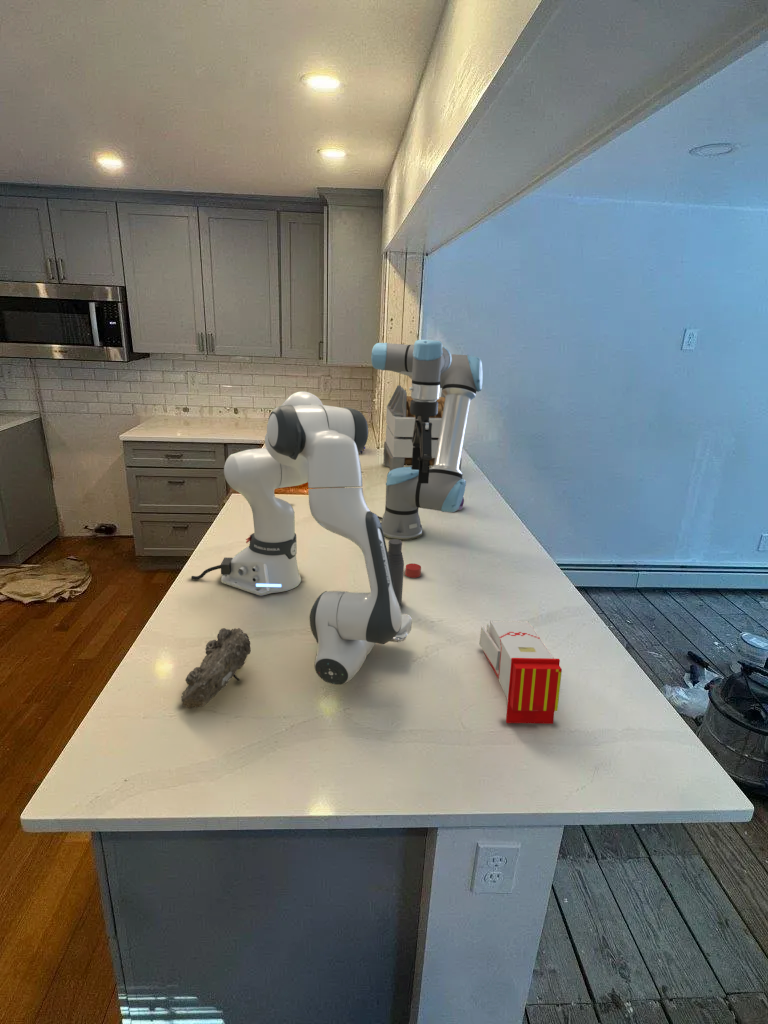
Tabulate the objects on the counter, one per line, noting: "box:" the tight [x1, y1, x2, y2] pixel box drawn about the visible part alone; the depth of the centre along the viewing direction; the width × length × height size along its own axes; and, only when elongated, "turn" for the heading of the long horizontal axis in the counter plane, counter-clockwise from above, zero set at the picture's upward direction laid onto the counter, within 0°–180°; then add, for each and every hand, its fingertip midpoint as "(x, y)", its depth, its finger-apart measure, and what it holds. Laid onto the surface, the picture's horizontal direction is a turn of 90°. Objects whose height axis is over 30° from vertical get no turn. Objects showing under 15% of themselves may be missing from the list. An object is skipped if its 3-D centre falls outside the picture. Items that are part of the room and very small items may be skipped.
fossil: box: [180, 627, 252, 709], centre depth 117 cm, size 22×10×15 cm
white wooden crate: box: [383, 384, 463, 472], centre depth 268 cm, size 34×33×41 cm
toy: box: [478, 620, 563, 725], centre depth 121 cm, size 12×13×30 cm
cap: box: [404, 563, 422, 579], centre depth 169 cm, size 5×5×2 cm
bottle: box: [387, 539, 405, 608], centre depth 149 cm, size 5×5×18 cm
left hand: (378, 604), depth 138 cm, fingers open, 8 cm apart
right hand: (419, 476), depth 159 cm, fingers open, 13 cm apart
